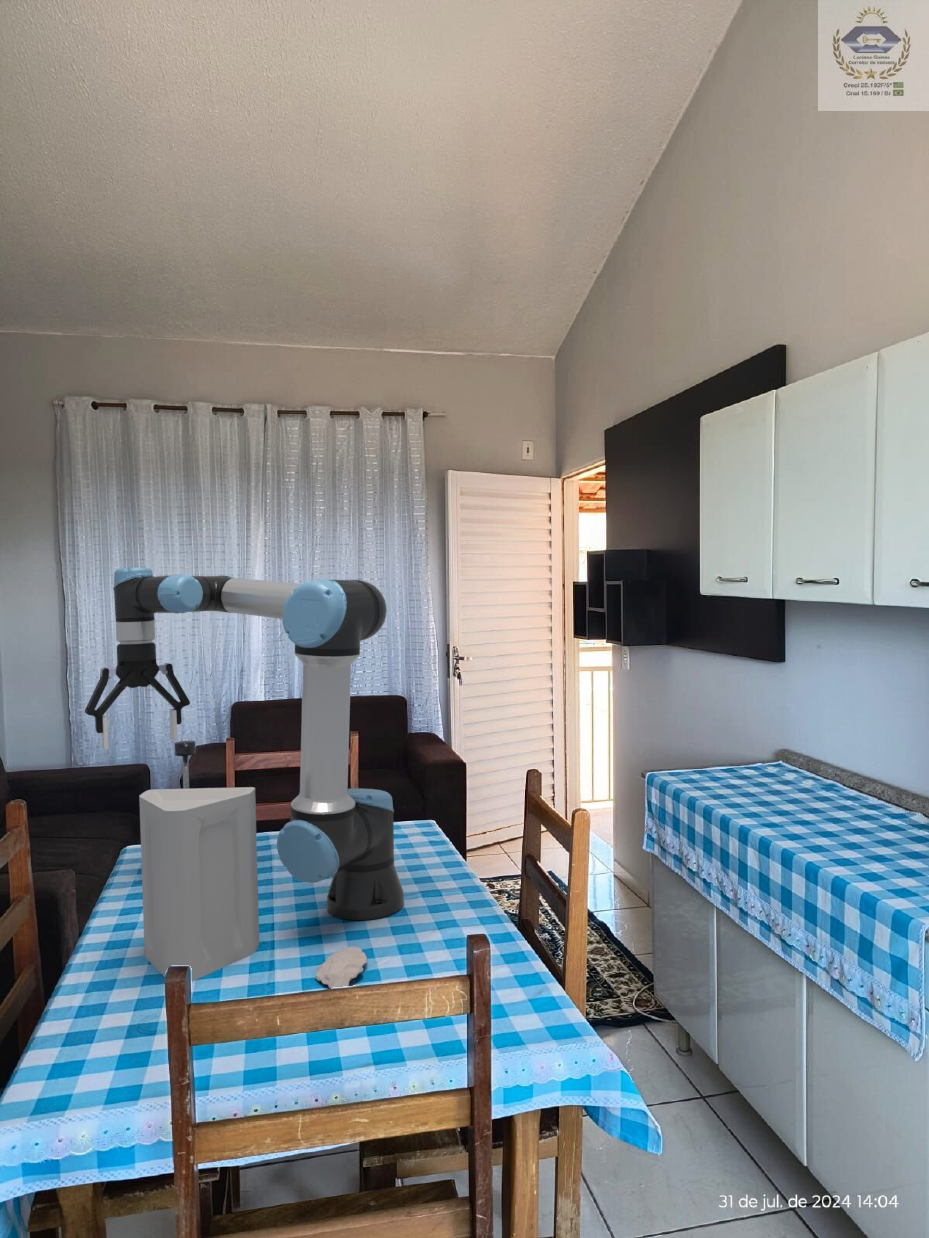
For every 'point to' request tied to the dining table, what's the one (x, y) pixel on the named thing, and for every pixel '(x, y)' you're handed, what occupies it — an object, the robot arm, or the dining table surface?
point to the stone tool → (341, 967)
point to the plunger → (185, 757)
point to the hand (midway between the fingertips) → (140, 744)
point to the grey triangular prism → (199, 877)
